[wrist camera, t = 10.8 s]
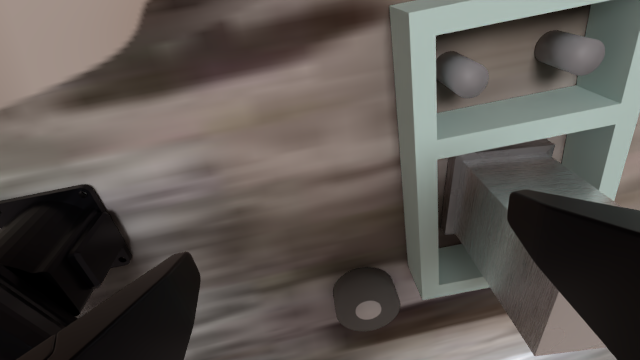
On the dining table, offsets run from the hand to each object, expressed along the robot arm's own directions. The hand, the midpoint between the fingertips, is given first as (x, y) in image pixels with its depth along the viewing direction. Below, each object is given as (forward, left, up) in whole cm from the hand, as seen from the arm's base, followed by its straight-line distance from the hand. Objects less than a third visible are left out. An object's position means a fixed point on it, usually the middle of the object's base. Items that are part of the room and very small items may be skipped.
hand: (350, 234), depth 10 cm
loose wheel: (+1, -17, -13) cm, 21 cm away
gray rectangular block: (+11, -9, -13) cm, 19 cm away
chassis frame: (+11, -6, -13) cm, 18 cm away
